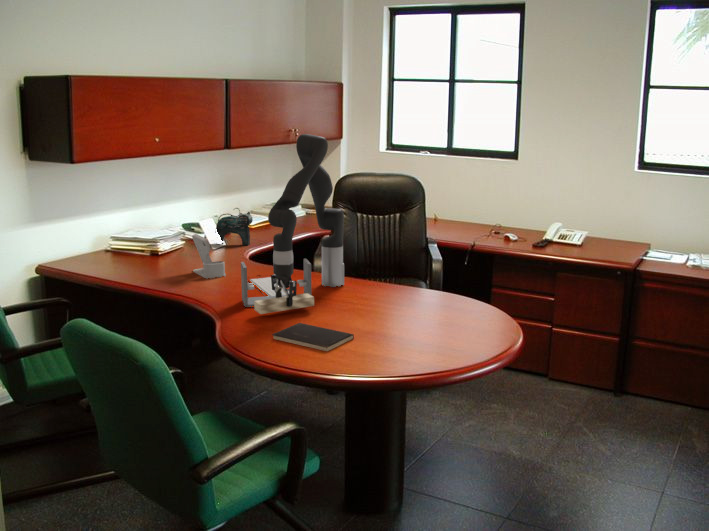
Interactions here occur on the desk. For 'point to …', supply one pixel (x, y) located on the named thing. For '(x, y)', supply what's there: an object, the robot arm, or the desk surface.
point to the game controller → (235, 226)
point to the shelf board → (283, 303)
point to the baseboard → (265, 285)
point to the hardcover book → (313, 336)
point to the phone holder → (207, 260)
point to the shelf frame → (250, 301)
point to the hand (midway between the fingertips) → (284, 304)
